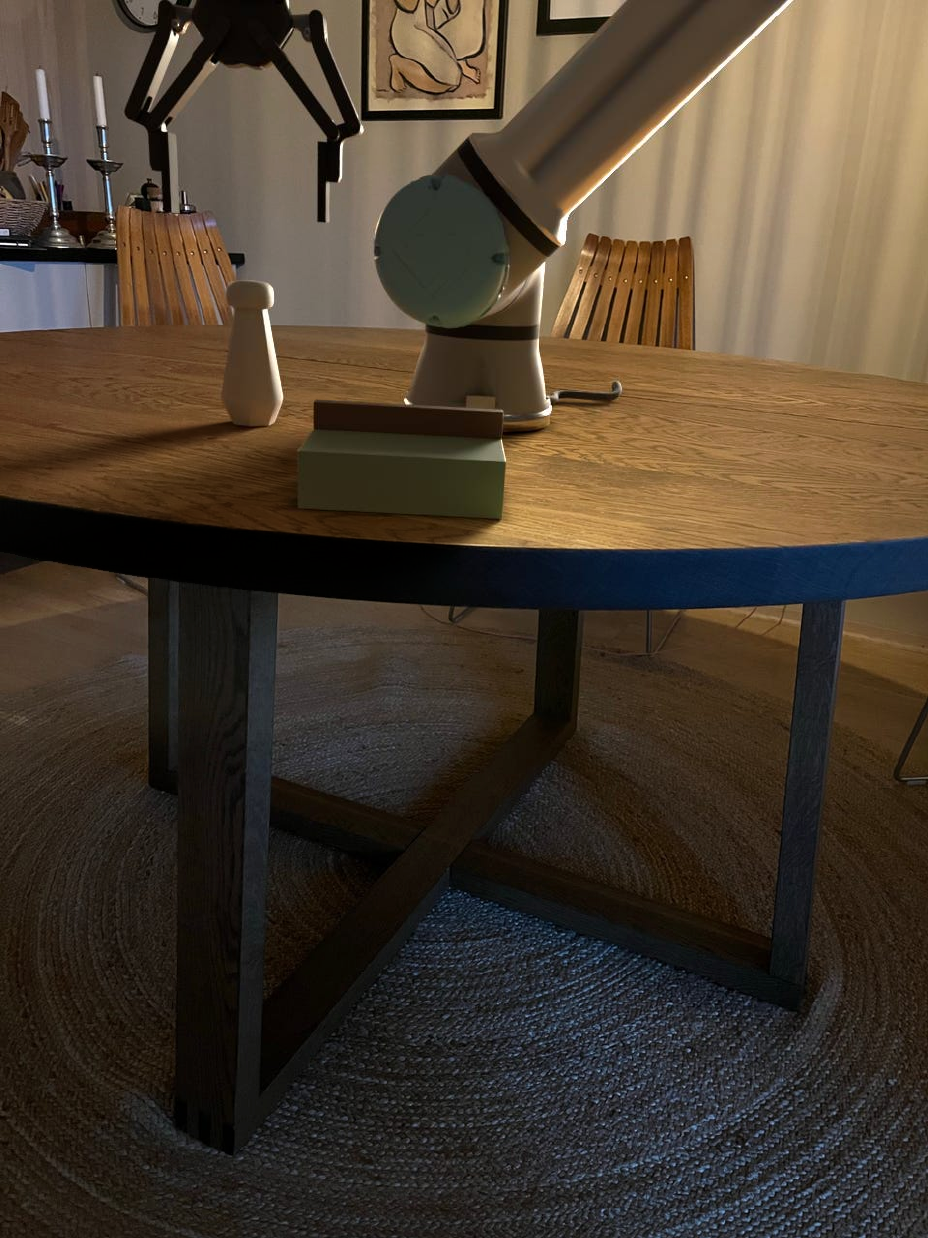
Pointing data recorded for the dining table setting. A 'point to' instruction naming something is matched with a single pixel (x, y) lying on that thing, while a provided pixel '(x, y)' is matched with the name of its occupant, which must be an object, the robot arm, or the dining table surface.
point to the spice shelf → (403, 460)
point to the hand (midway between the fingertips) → (247, 218)
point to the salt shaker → (251, 357)
